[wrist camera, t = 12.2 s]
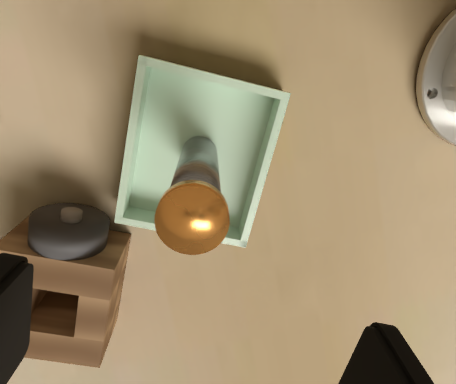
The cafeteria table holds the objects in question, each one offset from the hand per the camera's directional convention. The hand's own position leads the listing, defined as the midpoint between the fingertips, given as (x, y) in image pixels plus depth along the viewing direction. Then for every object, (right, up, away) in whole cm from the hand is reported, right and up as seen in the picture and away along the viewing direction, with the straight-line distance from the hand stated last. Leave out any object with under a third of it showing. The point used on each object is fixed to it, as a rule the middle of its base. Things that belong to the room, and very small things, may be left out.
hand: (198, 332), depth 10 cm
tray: (-2, +7, +20) cm, 22 cm away
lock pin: (-2, +7, +20) cm, 21 cm away
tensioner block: (-13, -2, +23) cm, 27 cm away
